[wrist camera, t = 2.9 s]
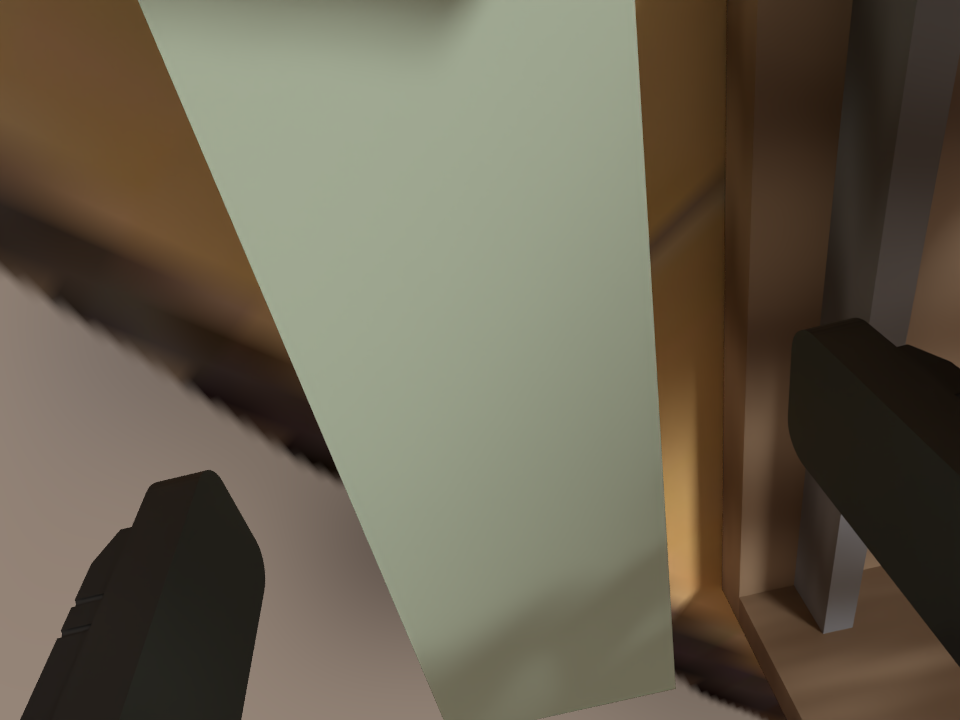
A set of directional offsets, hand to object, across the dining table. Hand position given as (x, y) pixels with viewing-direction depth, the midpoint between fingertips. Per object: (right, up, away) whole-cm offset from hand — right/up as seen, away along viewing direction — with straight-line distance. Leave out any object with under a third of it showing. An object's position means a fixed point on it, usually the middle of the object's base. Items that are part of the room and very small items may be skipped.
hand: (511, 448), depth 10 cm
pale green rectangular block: (-1, +5, +7) cm, 9 cm away
